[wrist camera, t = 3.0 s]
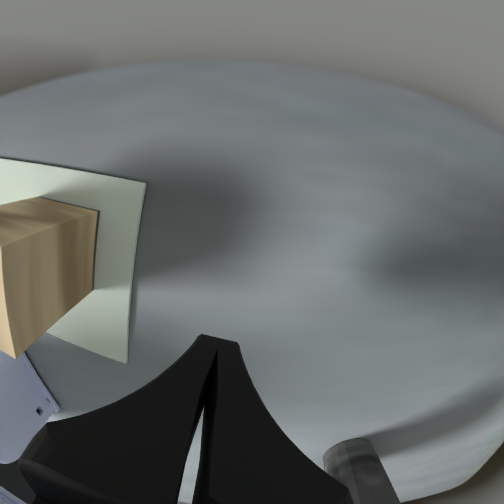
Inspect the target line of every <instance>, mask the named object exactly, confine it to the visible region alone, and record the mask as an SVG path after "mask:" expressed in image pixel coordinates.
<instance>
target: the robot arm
mask: <svg viewBox="0 0 504 504" xmlns="http://www.w3.org/2000/svg"><path fill="white" fill-rule="evenodd" d="M203 407H204V414H203V425H202V438H201V451H200V461H199V468H198V473H197V479H196V484H195V490H194V495H193V501H192V504H354V501H353V499H352V496H351V494H350V491H349V488H348V487H346V486H345V485H343V484H342V483H340V482H339V481H338V480H336V479H335V478H333V477H332V476H330V475H329V474H328V473H326V472H325V471H323V470H322V469H321V468H319V467H318V466H317V465H316V464H315V463H314V462H312V461H311V460H310V459H309V458H308V457H307V456H306V455H304V454H303V453H302V452H301V451H300V450H299V449H298V448H297V446H296V445H295V444H294V443H293V442H292V441H291V440H290V439H289V438H288V437H287V436H286V435H285V433H284V432H283V431H282V430H281V428H280V427H279V426H278V425H277V423H276V422H275V420H274V419H273V418H272V416H271V415H270V413H269V412H268V410H267V409H266V407H265V405H264V404H263V402H262V400H261V398H260V397H259V395H258V393H257V391H256V389H255V387H254V385H253V383H252V381H251V378H250V376H249V374H248V371H247V369H246V366H245V364H244V361H243V358H242V355H241V351H240V346H239V344H238V343H237V342H233V341H229V340H225V339H220V338H216V337H212V336H208V335H204V334H201V335H199V336H198V337H197V339H196V340H195V342H194V343H193V344H192V345H191V346H190V348H189V349H188V350H187V351H186V352H185V353H184V354H183V355H182V356H181V357H180V358H179V359H178V360H177V361H176V362H175V363H174V364H173V365H171V366H170V367H169V368H168V369H167V370H165V371H164V372H163V373H162V374H160V375H159V376H158V377H157V378H155V379H154V380H152V381H151V382H150V383H148V384H147V385H145V386H143V387H142V388H140V389H139V390H137V391H135V392H133V393H132V394H130V395H128V396H126V397H124V398H122V399H120V400H118V401H116V402H114V403H112V404H110V405H107V406H104V407H102V408H99V409H96V410H94V411H91V412H88V413H86V414H82V415H79V416H75V417H71V418H67V419H62V420H58V421H53V422H47V423H46V421H47V420H48V419H49V417H50V416H51V414H52V413H53V412H58V411H59V410H60V407H59V406H58V404H57V403H56V402H55V400H54V399H53V397H52V396H51V394H50V393H49V391H48V390H47V388H46V387H45V385H44V384H43V382H42V381H41V379H40V378H39V376H38V375H37V373H36V371H35V370H34V368H33V366H32V365H31V363H30V361H29V360H28V358H27V356H26V354H25V353H24V352H23V353H22V354H21V355H20V356H19V357H18V358H17V359H15V358H13V357H11V356H10V355H8V354H6V353H5V352H3V351H1V350H0V463H4V464H6V463H11V462H14V461H15V460H17V459H18V458H19V459H18V467H19V470H20V471H21V473H22V475H23V477H24V478H25V479H26V481H27V482H28V483H29V485H30V486H31V488H32V489H33V491H34V492H35V493H36V494H37V495H36V497H35V499H34V501H33V503H32V504H177V502H178V497H179V492H180V487H181V482H182V477H183V473H184V468H185V463H186V460H187V456H188V452H189V449H190V446H191V443H192V440H193V437H194V434H195V431H196V428H197V425H198V422H199V419H200V416H201V413H202V410H203ZM45 423H46V424H45ZM44 424H45V425H44ZM0 504H26V503H25V502H23V501H22V500H20V499H18V498H17V497H15V496H14V495H12V494H11V493H10V492H8V491H7V490H5V489H4V488H2V487H1V486H0Z"/></svg>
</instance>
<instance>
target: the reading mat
mask: <svg viewBox="0 0 504 504" xmlns="http://www.w3.org/2000/svg"><path fill="white" fill-rule="evenodd" d="M146 185H147V183H143V182H138V181H133V180H128V179H123V178H118V177H112V176H107V175H102V174H96V173H91V172H85V171H80V170H74V169H68V168H62V167H56V166H50V165H43V164H37V163H30V162H23V161H16V160H9V159H2V158H0V205H2V204H7V203H11V202H15V201H19V200H24V199H29V198H33V197H38V196H40V197H44V198H48V199H53V200H57V201H61V202H65V203H70V204H74V205H78V206H82V207H87V208H91V209H95V210H99V211H100V216H99V225H98V234H97V245H96V258H95V275H94V290H93V291H92V292H91V293H90V294H88V295H87V296H86V297H85V298H84V299H83V300H81V301H80V302H79V303H78V304H77V305H76V306H74V307H73V308H72V309H71V310H70V311H69V312H67V313H66V314H65V315H64V316H63V317H62V318H61V319H59V320H58V321H57V322H56V323H55V324H54V325H53V326H52V327H50V328H49V329H48V330H47V331H46V332H47V333H49V334H51V335H54V336H56V337H58V338H60V339H63V340H65V341H67V342H70V343H72V344H74V345H77V346H79V347H82V348H84V349H87V350H89V351H92V352H94V353H97V354H99V355H102V356H105V357H108V358H110V359H113V360H116V361H119V362H122V363H125V364H126V363H127V362H128V335H129V317H130V303H131V291H132V281H133V271H134V262H135V254H136V246H137V239H138V232H139V225H140V219H141V213H142V207H143V201H144V195H145V190H146Z"/></svg>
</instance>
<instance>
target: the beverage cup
mask: <svg viewBox="0 0 504 504" xmlns="http://www.w3.org/2000/svg"><path fill="white" fill-rule="evenodd" d="M323 460H324V471H325V472H326V473H328V474H329V475H330V476H332V477H333V478H335V479H336V480H338V481H339V482H340V483H342V484H343V485H345V486H346V487H348V488H349V491H350V494H351V496H352V499H353V501H354V504H401V503H400V501H399V499H398V497H397V495H396V493H395V490H394V488H393V486H392V484H391V482H390V480H389V478H388V476H387V474H386V472H385V470H384V468H383V466H382V463H381V461H380V459H379V457H378V455H377V454H376V453H375V451H374V449H373V447H372V445H371V443H370V441H368V440H366V439H351V440H347V441H343V442H341V443H338V444H336V445H334V446H333V447H331V448H330V449H329V450H328V451H327V452H326V453H325V454H324V456H323Z"/></svg>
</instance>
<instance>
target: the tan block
mask: <svg viewBox="0 0 504 504" xmlns="http://www.w3.org/2000/svg"><path fill="white" fill-rule="evenodd" d="M99 216H100V211H99V210H95V209H91V208H87V207H82V206H78V205H74V204H70V203H65V202H61V201H57V200H53V199H48V198H44V197H40V196H38V197H33V198H29V199H24V200H19V201H15V202H11V203H7V204H2V205H0V350H1V351H3V352H5V353H6V354H8V355H10V356H11V357H13V358H15V359H17V358H18V357H19V356H20V355H21V354H22V353H23V352H25V351H26V350H27V349H28V348H29V347H30V346H31V345H32V344H33V343H34V342H35V341H36V340H37V339H38V338H39V337H41V336H42V335H43V334H44V333H45V332H46V331H47V330H48V329H49V328H50V327H52V326H53V325H54V324H55V323H56V322H57V321H58V320H59V319H61V318H62V317H63V316H64V315H65V314H66V313H67V312H69V311H70V310H71V309H72V308H73V307H74V306H76V305H77V304H78V303H79V302H80V301H81V300H83V299H84V298H85V297H86V296H87V295H88V294H90V293H91V292H92V291H93V290H94V275H95V258H96V245H97V234H98V225H99Z"/></svg>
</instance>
